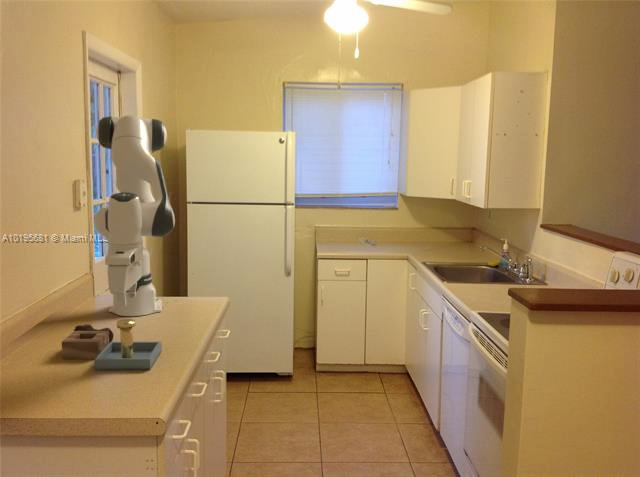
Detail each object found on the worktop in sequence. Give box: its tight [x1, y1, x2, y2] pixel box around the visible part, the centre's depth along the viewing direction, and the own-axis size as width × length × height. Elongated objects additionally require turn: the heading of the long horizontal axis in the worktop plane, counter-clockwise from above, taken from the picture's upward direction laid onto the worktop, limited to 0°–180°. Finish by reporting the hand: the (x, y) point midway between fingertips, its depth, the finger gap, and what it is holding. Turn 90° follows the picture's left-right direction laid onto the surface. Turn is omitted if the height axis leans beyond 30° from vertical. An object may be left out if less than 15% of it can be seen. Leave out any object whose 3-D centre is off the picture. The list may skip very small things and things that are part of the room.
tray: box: [94, 341, 163, 371], centre depth 161 cm, size 15×15×3 cm
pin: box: [116, 318, 136, 358], centre depth 159 cm, size 5×5×11 cm
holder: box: [61, 330, 109, 360], centre depth 167 cm, size 10×10×5 cm
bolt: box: [73, 323, 114, 343], centre depth 178 cm, size 6×5×15 cm
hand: (127, 301), depth 159 cm, fingers open, 8 cm apart
